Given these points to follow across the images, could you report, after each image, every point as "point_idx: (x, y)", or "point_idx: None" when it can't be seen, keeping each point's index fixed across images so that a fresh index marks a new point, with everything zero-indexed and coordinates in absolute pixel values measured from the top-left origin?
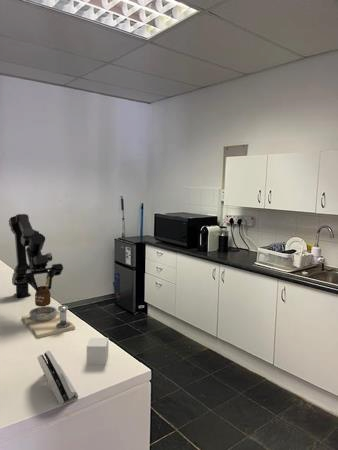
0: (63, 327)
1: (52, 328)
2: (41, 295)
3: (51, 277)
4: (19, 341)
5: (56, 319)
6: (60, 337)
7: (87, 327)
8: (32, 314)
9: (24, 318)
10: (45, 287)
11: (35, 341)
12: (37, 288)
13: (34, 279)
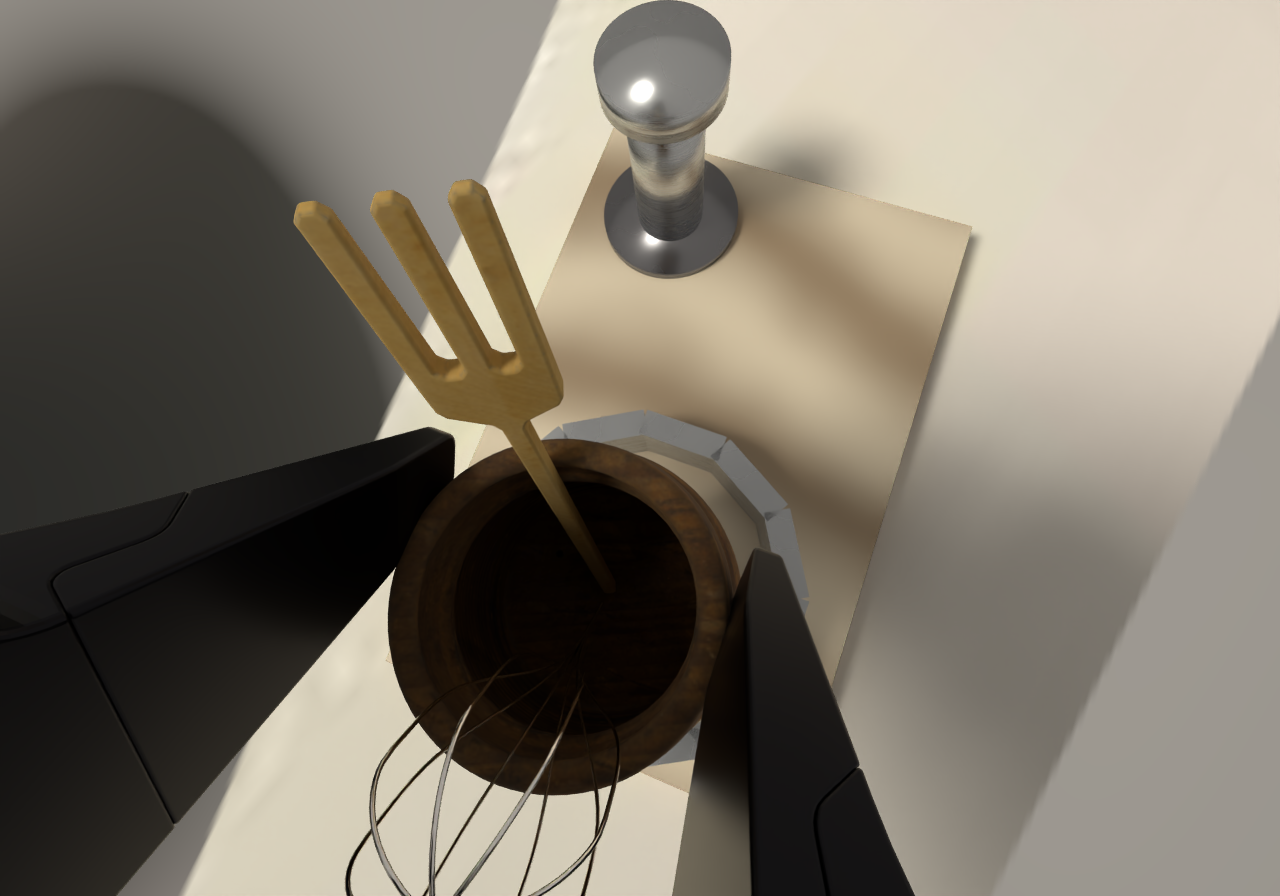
0: (711, 165)
1: (784, 239)
2: (697, 493)
3: (72, 536)
4: (1115, 315)
5: (604, 392)
6: (813, 113)
7: (528, 96)
8: (799, 586)
9: None
10: (425, 666)
11: (1009, 207)
12: (762, 565)
13: (775, 866)
